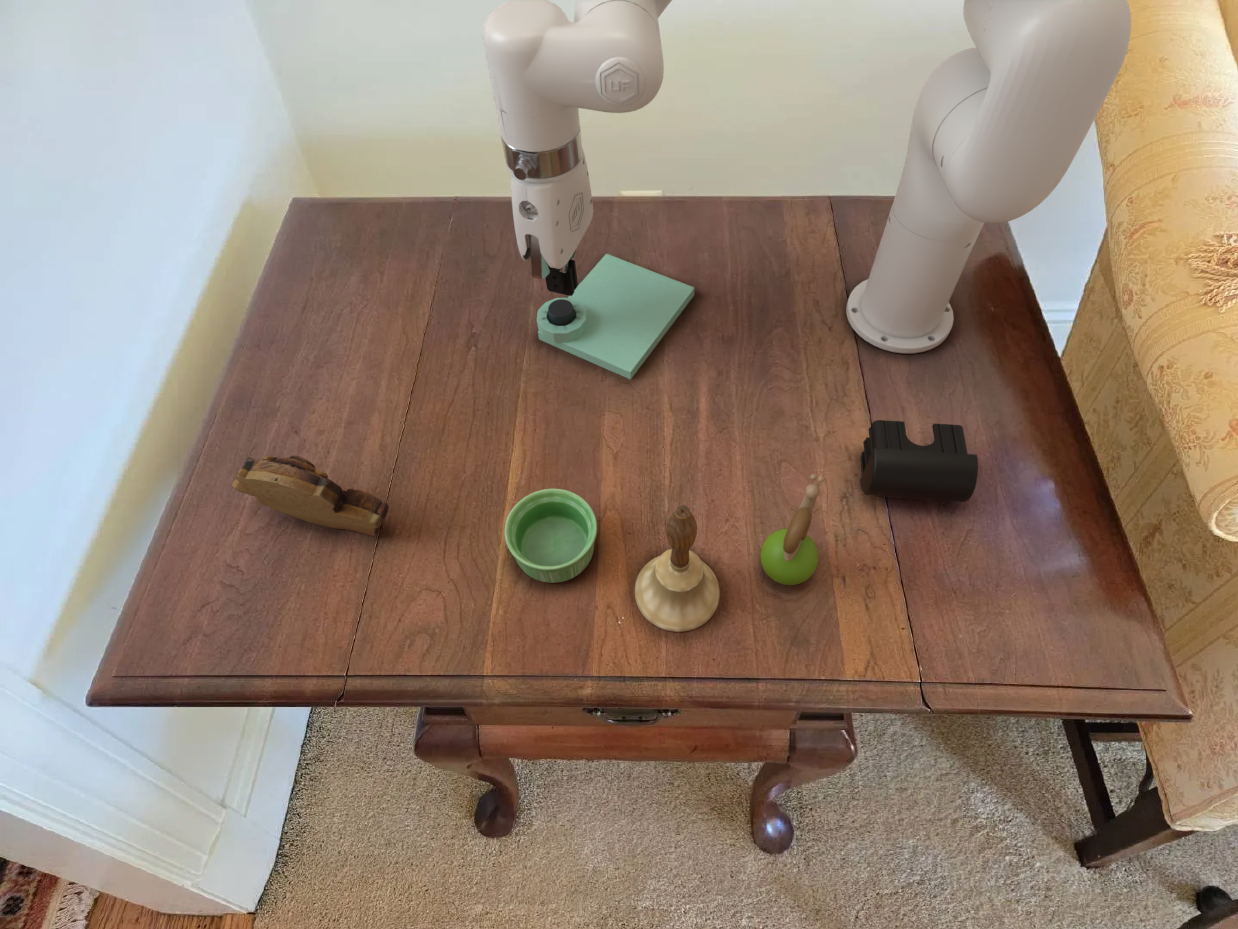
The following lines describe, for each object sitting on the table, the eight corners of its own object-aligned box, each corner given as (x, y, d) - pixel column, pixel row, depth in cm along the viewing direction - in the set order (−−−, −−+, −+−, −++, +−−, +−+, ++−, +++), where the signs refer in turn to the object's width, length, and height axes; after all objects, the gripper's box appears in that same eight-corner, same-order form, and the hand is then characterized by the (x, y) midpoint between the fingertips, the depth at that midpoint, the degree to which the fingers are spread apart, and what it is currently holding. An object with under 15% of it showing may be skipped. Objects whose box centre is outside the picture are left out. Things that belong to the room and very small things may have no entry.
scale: (600, 259, 103) (599, 241, 100) (694, 295, 98) (695, 277, 96) (530, 339, 95) (527, 321, 92) (628, 382, 91) (628, 365, 88)
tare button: (558, 305, 94) (557, 295, 93) (579, 313, 93) (578, 304, 92) (544, 320, 93) (543, 311, 92) (565, 329, 92) (564, 320, 91)
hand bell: (713, 639, 73) (729, 563, 60) (627, 623, 74) (623, 545, 61) (724, 561, 77) (741, 474, 64) (643, 547, 78) (643, 459, 65)
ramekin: (515, 509, 81) (509, 487, 78) (601, 511, 81) (599, 488, 77) (505, 588, 76) (498, 568, 73) (596, 590, 76) (594, 570, 72)
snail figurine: (822, 548, 78) (848, 484, 68) (802, 602, 75) (827, 543, 65) (770, 529, 79) (789, 463, 69) (749, 581, 76) (765, 520, 66)
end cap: (860, 509, 80) (876, 473, 75) (855, 453, 84) (870, 415, 79) (959, 516, 80) (983, 481, 74) (949, 459, 84) (971, 421, 78)
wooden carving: (406, 511, 82) (379, 458, 73) (390, 549, 79) (361, 498, 71) (263, 486, 84) (221, 431, 75) (243, 522, 81) (198, 470, 73)
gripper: (548, 201, 70) (568, 342, 85) (606, 109, 77) (615, 253, 92) (473, 186, 71) (506, 327, 86) (537, 97, 79) (557, 241, 94)
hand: (562, 288), depth 89 cm, fingers closed
